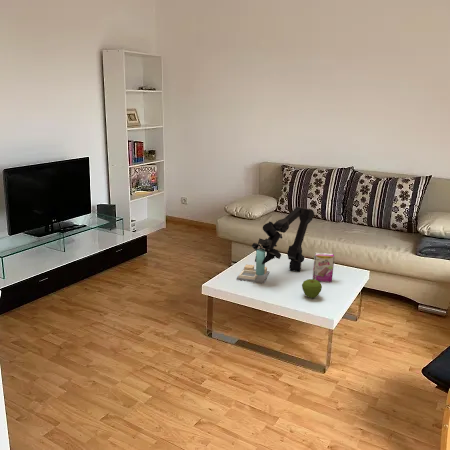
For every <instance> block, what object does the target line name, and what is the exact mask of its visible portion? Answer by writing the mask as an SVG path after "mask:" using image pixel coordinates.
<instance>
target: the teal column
mask: <svg viewBox="0 0 450 450" xmlns="http://www.w3.org/2000/svg"><path fill="white" fill-rule="evenodd" d="M265 257H266V252H265V250H262V249H259V250H257V252H256V251H255V258H256V262H255V270H256V275H264V274H265V267H266V266H265V265H266V263H265V264H262V262H263V260H264V258H265Z"/></svg>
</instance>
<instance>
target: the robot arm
mask: <svg viewBox="0 0 450 450" xmlns="http://www.w3.org/2000/svg"><path fill="white" fill-rule="evenodd" d="M314 217H315V212H314V210H313V209H311V208H306V207H301V206H295V207H294V209H293V210H291V212H289V213H288V214H287V215H286V216H285V217H284V218H281V219H278V220H276V221H275V222H274V223H273V221H268V222H267V223H265V224H264V225H263V226H262V230H263V232H264V233H265V234H266V235H267V236H268V237H267V238H265V239H263V238H261V237H260V238H259V239H258V242H253V243H252V245H251V248H253V250H254V251H255V253H256V252H257V250H259V249H262V250H265V258H264V260H263V262H262V264H265V265H266V264H267V263H268V262H269V261H272V260H273V259H279V260H280V259H281V257H282V253H281V252H280V251H279V250H278V249H275V247H277V244H278V241H279V240H280V239H283V234H282V233H286V232H287V231H288V230H289V228H290V225H291V224H292V223H293V222H294V221H296V219H298V218H299V224H298V228H297V231H296V234H295V237H294V240H293V244H292V245H289V246H288V249H287V251H286V252H287V259H288V260H290V261H289V266H288V267H289V271H292V272H298V273H299V272H301V270H302V263H303V262H305V257H304V255H303V248H302V245H303V241H304V238H305V235H306V231H307V228H308V226H309V223H311V222H312V221H313V219H314ZM254 263H256V257H255V259H254Z"/></svg>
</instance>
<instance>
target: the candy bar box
mask: <svg viewBox="0 0 450 450" xmlns="http://www.w3.org/2000/svg"><path fill="white" fill-rule="evenodd" d="M334 263H335V254H334V253H330V252H329V253H325V252H314V259H313V270H312V279H314V280H317V281H319V282H325V283H332V282H333V274H334Z"/></svg>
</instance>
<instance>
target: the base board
mask: <svg viewBox="0 0 450 450" xmlns="http://www.w3.org/2000/svg"><path fill="white" fill-rule="evenodd" d="M270 272H271V271H270V270H268V267H267V266H265V274H264V275H256V268H255V265H254V264H245V265H244V267H243V269H242V270H241V272H240V273H239V274H238V276H237V277H236V281H242V282H243V281H244V282H250V283H257V284H264V283H265V281H266V280H267V278H268V276H269V275H270Z"/></svg>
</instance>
